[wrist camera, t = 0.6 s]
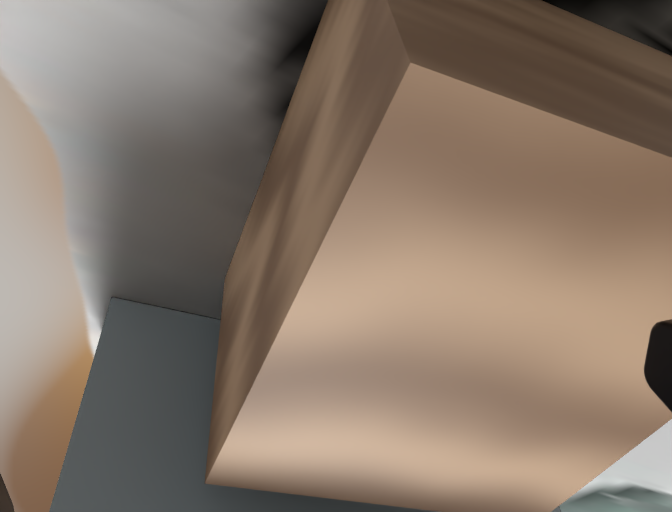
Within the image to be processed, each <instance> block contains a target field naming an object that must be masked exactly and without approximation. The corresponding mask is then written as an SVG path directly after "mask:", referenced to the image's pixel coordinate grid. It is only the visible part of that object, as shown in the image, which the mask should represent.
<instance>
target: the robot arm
mask: <svg viewBox="0 0 672 512" xmlns="http://www.w3.org/2000/svg"><path fill="white" fill-rule="evenodd" d="M644 376H645V379H646V382H647V384H648V385H649V387H650V388H651V390H652V391H653V392H654V393H655V394H656V395H657V397H658V398H659V399H660V400H661V401H662V402H663V403H664V404H665V406H666V407H667V408H668V409H669V410H670V411H671V412H672V319H670V320H665V321H660V322H657V323H656V324H655V325H654V326H653V327H652V329H651V332H650V337H649V342H648V348H647V353H646V358H645V364H644ZM0 512H14V508H13V504H12V501H11V499H10V496H9V494H8V491H7V489H6V486H5V484H4V481H3V479H2V477H1V474H0Z"/></svg>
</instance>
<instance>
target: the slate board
mask: <svg viewBox="0 0 672 512" xmlns="http://www.w3.org/2000/svg"><path fill="white" fill-rule="evenodd" d="M220 322H221V320H218V319H213V318H208V317H204V316H199V315H194V314H189V313H185V312H180V311H175V310H170V309H166V308H161V307H156V306H151V305H147V304H142V303H137V302H133V301H128V300H123V299H118V298H114V297H112V298H111V301H110V305H109V308H108V311H107V315H106V318H105V322H104V325H103V329H102V332H101V336H100V339H99V342H98V346H97V349H96V353H95V356H94V360H93V363H92V367H91V370H90V374H89V377H88V380H87V384H86V387H85V391H84V394H83V398H82V401H81V405H80V408H79V411H78V415H77V418H76V422H75V425H74V429H73V432H72V436H71V439H70V442H69V446H68V449H67V453H66V456H65V460H64V463H63V467H62V470H61V473H60V477H59V480H58V484H57V487H56V491H55V494H54V497H53V501H52V504H51V508H50V511H49V512H438V511H430V510H421V509H413V508H405V507H396V506H388V505H379V504H371V503H363V502H354V501H346V500H338V499H329V498H321V497H312V496H304V495H296V494H287V493H279V492H270V491H262V490H254V489H245V488H237V487H229V486H220V485H212V484H205V474H206V464H207V453H208V443H209V433H210V423H211V413H212V403H213V393H214V382H215V372H216V362H217V352H218V342H219V332H220ZM551 512H561V510H560V507H559V506H558V507H557V508H555V509H554V510H553V511H551Z"/></svg>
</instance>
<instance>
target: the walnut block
mask: <svg viewBox="0 0 672 512" xmlns="http://www.w3.org/2000/svg"><path fill="white" fill-rule="evenodd" d="M670 319H672V56H670V55H668V54H665V53H663V52H661V51H658V50H656V49H654V48H651V47H649V46H647V45H644V44H642V43H640V42H637V41H635V40H633V39H630V38H628V37H626V36H623V35H621V34H619V33H616V32H614V31H612V30H609V29H607V28H605V27H602V26H600V25H598V24H595V23H593V22H591V21H588V20H586V19H584V18H581V17H579V16H577V15H574V14H572V13H570V12H567V11H565V10H563V9H560V8H558V7H556V6H553V5H551V4H549V3H546V2H544V1H542V0H328V2H327V5H326V7H325V10H324V13H323V15H322V18H321V21H320V23H319V26H318V29H317V32H316V34H315V37H314V40H313V42H312V45H311V48H310V50H309V53H308V56H307V58H306V61H305V64H304V67H303V69H302V72H301V75H300V77H299V80H298V83H297V85H296V88H295V91H294V94H293V96H292V99H291V102H290V104H289V107H288V110H287V112H286V115H285V118H284V120H283V123H282V126H281V129H280V131H279V134H278V137H277V139H276V142H275V145H274V147H273V150H272V153H271V155H270V158H269V161H268V164H267V166H266V169H265V172H264V174H263V177H262V180H261V182H260V185H259V188H258V190H257V193H256V196H255V199H254V201H253V204H252V207H251V209H250V212H249V215H248V217H247V220H246V223H245V225H244V228H243V231H242V234H241V236H240V239H239V242H238V244H237V247H236V250H235V252H234V255H233V258H232V261H231V263H230V266H229V269H228V271H227V274H226V277H225V281H224V291H223V301H222V311H221V322H220V332H219V342H218V352H217V362H216V372H215V382H214V393H213V403H212V413H211V423H210V433H209V443H208V453H207V464H206V474H205V484H212V485H220V486H229V487H237V488H245V489H254V490H262V491H270V492H279V493H287V494H296V495H304V496H312V497H321V498H329V499H338V500H346V501H354V502H363V503H371V504H379V505H388V506H396V507H405V508H413V509H421V510H430V511H438V512H551V511H553V510H554V509H555V508H557V507H558V506H559V505H560V504H562V503H563V502H564V501H566V500H567V499H568V498H570V497H571V496H572V495H573V494H575V493H576V492H577V491H579V490H580V489H581V488H583V487H584V486H585V485H586V484H588V483H589V482H590V481H592V480H593V479H594V478H595V477H597V476H598V475H599V474H601V473H602V472H603V471H605V470H606V469H607V468H608V467H610V466H611V465H612V464H614V463H615V462H616V461H618V460H619V459H620V458H621V457H623V456H624V455H625V454H627V453H628V452H629V451H630V450H632V449H633V448H634V447H636V446H637V445H638V444H640V443H641V442H642V441H643V440H645V439H646V438H647V437H649V436H650V435H651V434H653V433H654V432H655V431H656V430H658V429H659V428H660V427H662V426H663V425H664V424H665V423H667V422H668V421H669V420H671V419H672V412H671V411H670V410H669V409H668V408H667V407H666V406H665V404H664V403H663V402H662V401H661V400H660V399H659V398H658V397H657V395H656V394H655V393H654V392H653V391H652V390H651V388H650V387H649V385H648V384H647V382H646V379H645V376H644V364H645V358H646V353H647V348H648V342H649V337H650V332H651V329H652V327H653V326H654V325H655V324H656V323H657V322H660V321H665V320H670Z"/></svg>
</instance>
